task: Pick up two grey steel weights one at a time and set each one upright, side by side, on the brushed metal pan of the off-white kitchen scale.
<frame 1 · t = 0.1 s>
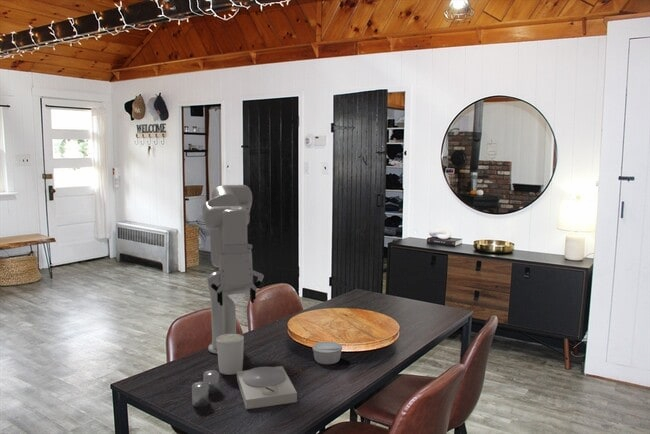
hand: (236, 303, 163), 31 cm above the table, tool pointing down, fingers open, 9 cm apart
steel weight 2: (211, 390, 173), on the table
candle holder: (230, 370, 189), on the table
steel weight 1: (200, 403, 164), on the table
scale: (265, 390, 173), on the table
ramekin: (327, 360, 198), on the table
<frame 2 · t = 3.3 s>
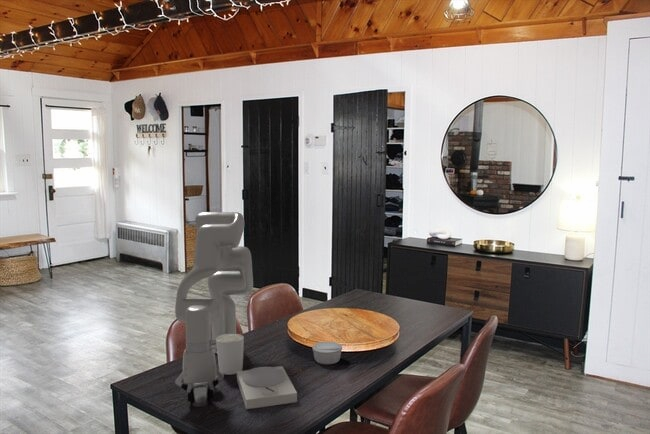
hand: (200, 401, 164), 1 cm above the table, tool pointing down, fingers closed on steel weight 1, 5 cm apart
steel weight 1: (200, 403, 164), on the table, touching gripper
everything else where it was.
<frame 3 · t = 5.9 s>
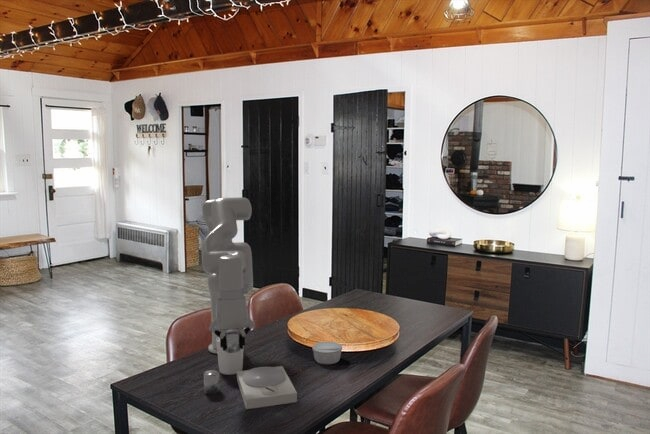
hand: (232, 347, 170), 15 cm above the table, tool pointing down, fingers closed on steel weight 1, 5 cm apart
steel weight 1: (232, 349, 170), point 14 cm above the table, touching gripper
everything else where it was.
when the fingers open (6 cm above the table, at t = 8.8 s): steel weight 1 drops 1 cm, resting on scale.
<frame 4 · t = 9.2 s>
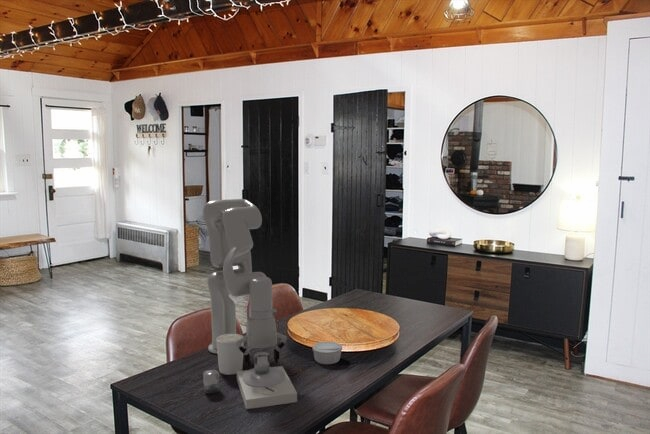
hand: (262, 363, 178), 7 cm above the table, tool pointing down, fingers open, 9 cm apart
steel weight 1: (262, 371, 178), point 4 cm above the table, touching scale
everything else where it was.
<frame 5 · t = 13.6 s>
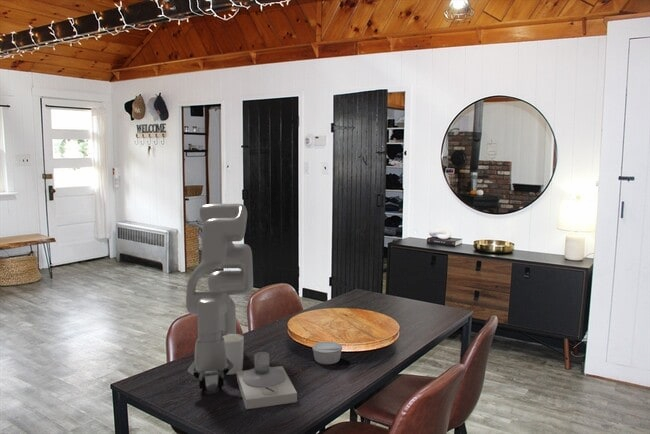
hand: (211, 388, 172), 1 cm above the table, tool pointing down, fingers closed on steel weight 2, 5 cm apart
steel weight 2: (211, 390, 173), on the table, touching gripper
everything else where it was.
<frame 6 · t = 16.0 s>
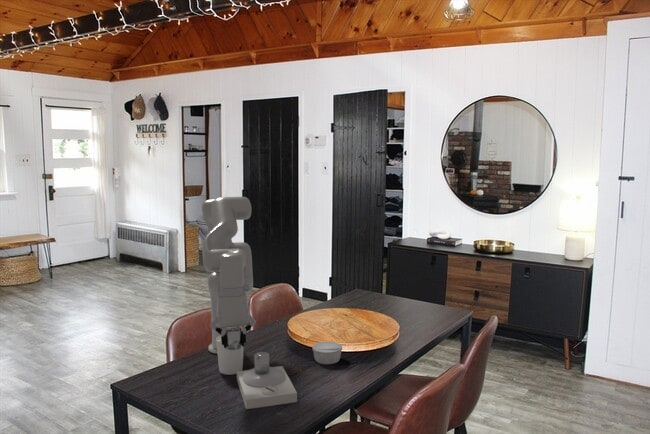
hand: (233, 345, 171), 15 cm above the table, tool pointing down, fingers closed on steel weight 2, 5 cm apart
steel weight 2: (233, 347, 171), point 15 cm above the table, touching gripper
everything else where it was.
when the fingers open (6 cm above the table, at t = 18.8 s): steel weight 2 drops 1 cm, resting on scale.
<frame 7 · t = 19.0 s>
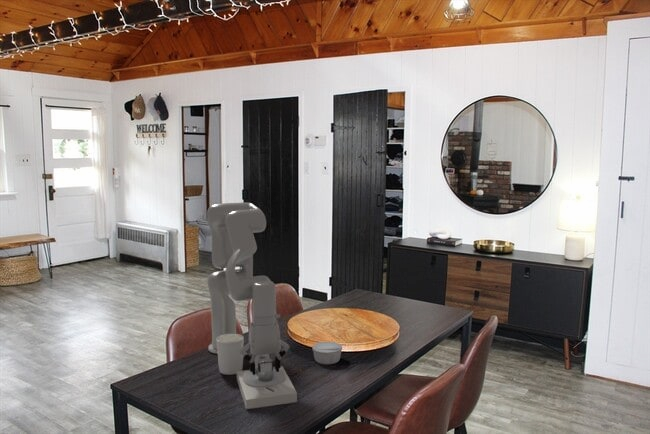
hand: (265, 371, 172), 6 cm above the table, tool pointing down, fingers open, 7 cm apart
steel weight 2: (265, 378, 172), point 4 cm above the table, touching scale
everything else where it was.
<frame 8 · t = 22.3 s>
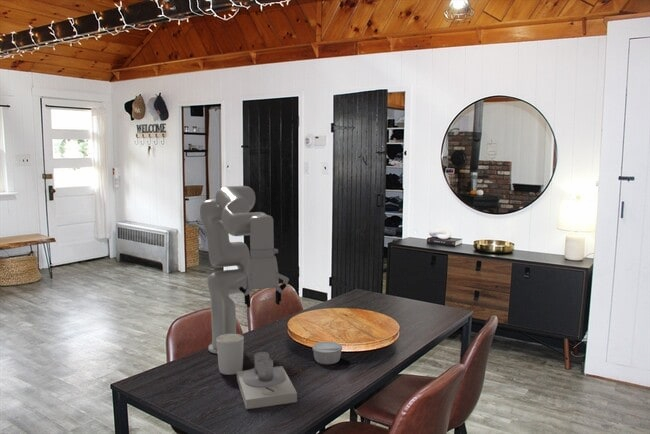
hand: (263, 305, 171), 28 cm above the table, tool pointing down, fingers open, 9 cm apart
nothing on the table moved.
at the end: steel weight 1 inside the target area on the scale (3.0 cm from its centre), point 4.0 cm above the scale's base; steel weight 2 inside the target area on the scale (3.0 cm from its centre), point 4.0 cm above the scale's base; steel weight 2 tilted 1° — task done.
